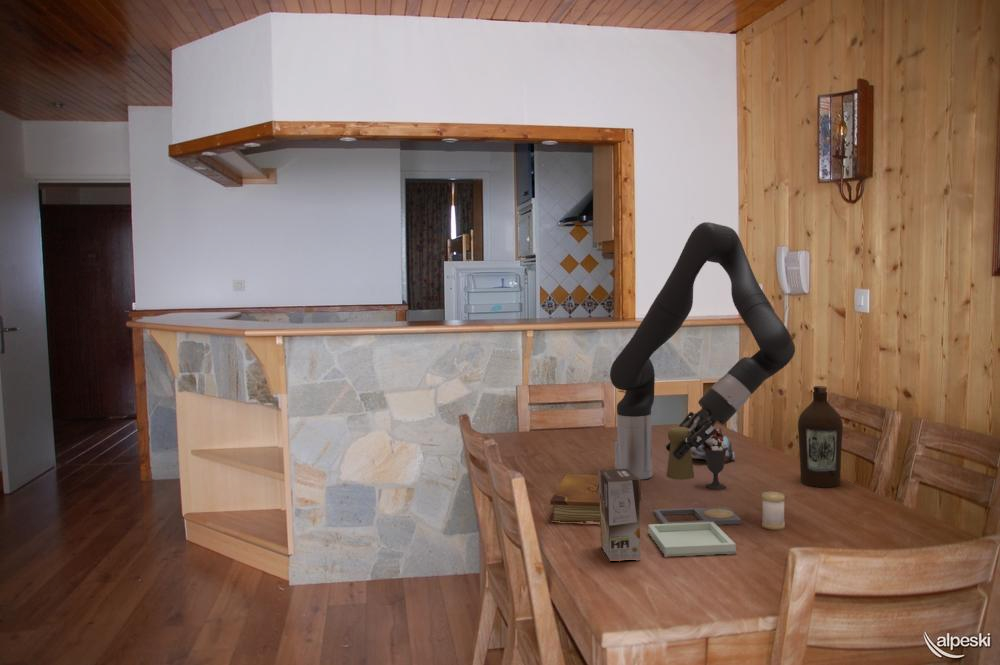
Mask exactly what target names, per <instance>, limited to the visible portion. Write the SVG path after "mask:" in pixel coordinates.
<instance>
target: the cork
mask: <svg viewBox="0 0 1000 665" xmlns="http://www.w3.org/2000/svg"><path fill="white" fill-rule="evenodd" d="M688 430H689V429H688V428H686V427H679V426H675V427H671V428H670V429H669V430H668V432H667V437H668V438H667V439H668V440H669V442H671V444H670V452H669V451H668V452H669V454H668V462H667V467H666V468H667V469H666V477H667V478H669V479H671V480H677V481H678V480H679V481H680V480H681V481H683V480H690V479H692V480H693V479H694V478H695V473H694V466H693V459H692V456H691V450H689V451H688V452H687V453H686V454H685V455H684V456H683V457H682V458H681V459H680V460H678V459H677V458H676V457H675V456H674V455H673V454H672V452H673V451H674V450H675V449H676V448H677V446H678V445H679V444H680V443H681V442H682V441H683V442H684V439H685V438H686V437H687V435H688Z"/></svg>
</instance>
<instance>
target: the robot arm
mask: <svg viewBox="0 0 1000 665" xmlns="http://www.w3.org/2000/svg"><path fill="white" fill-rule="evenodd" d="M707 262H709V263H715V264H719V265H720V266H721V267H722V268H723V270H724V271H725V272H726V274H727V275H728V277H729V279H730V284H731V285H730V286H731V287H730V288H731V290H730V291H731V298H732V302H733V305H734V307H735V309H736V310H737V312H738V314H739V315H740V318H741V320H742V321H743V322H744V324H745V325H746V327H747V328H748V329H749V330H750V333H751V334H752V337H753V338H754V340H755V342H756V344H757V346H758V348H759V350H758V351H756V352H755V354H753V355H752V356H751V357H748V356H745V357H744V356H743V357H742V358H740V359H739V360H738V361H737V362H736V363H735V364H734V365H733V366H732V367H731V368H730V369H729V370H728V371H727V372H726V373H725V374H724V375H723V376H722V377H720V378H719V379H718V380H717V381H716V382H715V383H714V384H713V385H712V386H711V387H710V388H709V390H707V392H706V393H704V394H703V396H702V397H701V398H700V399H699V400H698V405H699V406H700V407H701V409H700V410H699V411H697V412H696V413H694V412H693V411H690V412H689V413H688V414H687V415H686V417H685V418H684V419H683V421H682V422H681V423H680V424H679V426H678V427H686V428H688V429H689V430H688V435H687V437H686V438H685V439H684V442H683V441H682V442H681V443H680V444H679V445H678V446H677V448H676V449H675V450H674V451H673V452H672V454H673V455H674V456H675V457H676V458H677V459H678V460H680V459H681V458H682V457H683V456H684V455H685V454H686V453H687V452H688V451H689V450H690V449H691V448H694V447H695V448H698V447H699V446H701V445H702V444H703V443H704V442H705V441H706V440H707V439H709V438H710V437H711V436H712V435H713V434H714V433H715V432H716V431H717V429H716V428H715V425H716V423H718V424H720V425H723V426H724V425H725V424H726V423H727V422H728V421H729V420H730V419H732V417H733V416H734V415H735V414H736V413H737V412H738V411H739V410H741V408H742V407H743V406H744V404H745V403H746V402H747V401H748V400H749V398H750V397H751V396H752V395H753V393H755V392H756V391H757V389H758V388H759V387H760V386H761V385H762V384H763V383H764V382H765V381H766V380H768V379H769V378H771V377H773V376H774V375H775V374H777V373H778V372H779V371H780V370H782V369H784V367H785V366H787V365H788V364H789V363H790V362H791V361H792V359H793V357H794V356H795V352H796V346H795V343H794V341H793V338H792V337H791V333H790V332H789V330H788V328H787V327H786V325H785V324H784V322H783V321H782V319H780V317H779V316H778V314H777V313H776V312H775V310H774V308H773V305H772V304H771V303H770V300H769V299H768V297H767V296H766V294H765V293H764V291H763V289H762V288H761V286H760V284H759V282H758V280H757V278H756V276H755V274H754V272H753V269H752V268H751V267H752V266H751V264H750V262H749V260H748V257H747V255H746V252H745V248H744V246H743V244H742V241H741V239H740V237H739V234H738V233H737V232H736V230H735V229H733V228H732V227H730V226H727V225H722V224H717V223H714V222H707V221H706V222H701V223H700V224H698V225H697V226H695V228H693V230H692V231H691V233H690V235H689V237H688V239H687V240H686V243H685V245H684V247H683V249H682V251H681V253H680V254H679V258H678V259H677V262H676V263H675V265H674V267H673V268H672V270H671V272H670V275H668V277H667V280H666V281H665V283H664V285H663V287H661V290H660V291H659V292H658V294H657V295H656V297H655V298H654V300H653V302H652V304H651V305H650V307H649V309H648V311H647V312H646V314H645V316H644V317H643V319H642V321H641V322H640V324H639V325H638V327H637V329H636V330H635V332H634V334H632V337H631V338H630V340H629V341H628V342H627V344H626V345H625V346H624V348H623V349H622V350H621V352H620V353H619V354H618V355H617V357H616V358H615V359H614V361H613V362H612V364H611V366H610V371H609V379H610V383H611V384H612V385H613V386H614V388H616V389H617V390H620V391H625V392H624V396H623V397H622V399H620V400H619V402H618V403H617V404H616V422H617V423H616V428H617V429H616V431H617V439H616V440H615V441H614V469H629V470H630V471H631V472H632V473H633V474H634V475H635V476H636V477H638V478H639V479H640V480H647V479H651V477H653V443H652V442H653V437H652V436H653V435H652V407H653V405H654V401H655V381H656V380H655V379H656V378H655V367H654V365H653V362H652V360H651V359H650V358H651V357H652V355H653V354H654V353H655V352H656V351H657V350H658V349H660V348H661V347H662V346H663V345H664V344H665V343H666V342H668V341H669V340H670V339H671V338H672V337H673V336H674V335H675V334H676V333H677V332H678V331H679V329H681V327H682V326H683V324H684V322H685V321H686V319H687V318H688V316H689V315H690V313H691V311H692V308H693V304H694V302H693V301H694V286H695V281H696V279H697V277H698V275H699V273H700V272H701V270H702V268H703V266H704V265H705V264H706V263H707ZM670 444H671V442H670V441H669V442H668V443H667V444H666V445H665V449H666V451H668V452H670Z"/></svg>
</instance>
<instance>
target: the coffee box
mask: <svg viewBox="0 0 1000 665" xmlns="http://www.w3.org/2000/svg"><path fill="white" fill-rule="evenodd" d="M598 475H599V494H600V525H599V526H600V547H601V546H602V548H603V550H604V551H603V550H602V551H603V553H604V552H605V553H606V555H607V556H608V558H609V559H610V560H618V559H639V558H640V559H641V528H640V527H641V526H640V525H641V521H640V502H639V479H638V478H637V477H636V476H635V475H634V474H633V473H632V472H631V471H630V470H629V469H615V468H613V469H602V470H601V469H600V470H598ZM602 548H601V549H602ZM605 553H604V554H605ZM606 555H605V556H606ZM607 556H606V557H607ZM608 558H607V559H608Z"/></svg>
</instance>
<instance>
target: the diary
mask: <svg viewBox="0 0 1000 665" xmlns="http://www.w3.org/2000/svg"><path fill="white" fill-rule="evenodd" d="M637 478H638V477H637ZM638 479H639V478H638ZM641 484H642V479H639V503H640V501H641V497H642V485H641ZM550 505H552V506H553V516H552V518H551V520H550V522H551V521H557V522H558V521H560V522H583V523H586V521H593V522H600V494H599V474H598V475H591V474H590V475H589V474H565V475H564V478H563V479H562V480H561V482H560V483H559V485H558V487H557V489H556V490H555V492H554V494H553V496H552V497H551V499H550Z"/></svg>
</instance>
